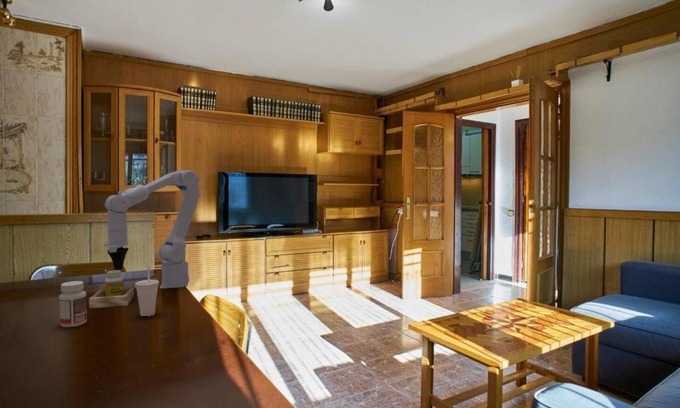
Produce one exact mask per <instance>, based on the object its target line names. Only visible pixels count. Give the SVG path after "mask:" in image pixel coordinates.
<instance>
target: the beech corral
mask: <svg viewBox="0 0 680 408" xmlns="http://www.w3.org/2000/svg"><path fill="white" fill-rule="evenodd" d="M134 297H135V287H130V288H129V289H128V290H127V291H125V292H124V295H123V296H108V297H105V296H104V289H98V290H97V291H96V292H95V293H94V294H93V295H92V296H90V297H88V307H89V309H100V308H101V309H102V308H110V307H111V308H112V307H125V306H129V304H130V302H132V300H133V299H134Z"/></svg>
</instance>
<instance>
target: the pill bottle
mask: <svg viewBox="0 0 680 408" xmlns="http://www.w3.org/2000/svg"><path fill="white" fill-rule="evenodd" d="M84 283H85V282H84V281H81V280H74V281H71V280H70V281H66V282H63V283H61V284H60V292H62V293H61V294H60V295H59V296H58V300H59V325H60V326H61V327H62V328H74V327H78V326H79V327H80V326H82V325H83V324H85V323H87V322H88V310H87V308H88V307H87V305H88V304H87V292H86V290H83V289H84V288H85V285H84Z"/></svg>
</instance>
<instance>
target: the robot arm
mask: <svg viewBox="0 0 680 408" xmlns="http://www.w3.org/2000/svg"><path fill="white" fill-rule="evenodd" d="M199 183H200V178H199V176H198V174H197V173H196V172H195V171H194V170H191V169H186V170H182V169H181V170H178V169H177V170H176V171H173V172H169V173H167V174H165V175H162V176H161V177H159V178H157V179H155V180H152V181H151V182H149V183H147V184H145V185H143V184H140V183H139V184H132V185H131V187H130V188H128V189H125V190H123V191H122V190H120V191H117V194H113V195H109V196H108V197H107V198H106V200H105V202H104V207H105V209H106V210H107V240H108V241H107V242H106V243H103V244H104V246H105V247H108V250H107V254H108V255H109V257H110V258H111V261H112V266H113V268H114V270H120V271H122V270H123V269H124V264H125V258H126V256H127V253H128V251H129V247H126V246H128V245H129V241H128V214H127V211H128V209H129V208H130V207H133V206H135V205H137V204H138V203H142V202H143V201H145V200H147V199H148V198H149V196H150V194H152V193H154V192H156V191H158V190H161V189H163V188H165V187H167V186H170V185H172V186H173V185H174V186H176V187H177V188H178V189H179V190H180V192H181V194H182V195H183V199H182V201H181V204H180V207H179V210H178V211H177V215H176V218H175V220H174V223H173V226H172V229H171V232H170V234H169V236H168V237H167V238H166V239H165V240H164V243H163V244H162V245H160V248H159V249H158V255H159V257H160V258H161V259H162V260H161V284H160V286H159V289H174V288H176V289H177V288H187V287H188V285H189V282H190V275H189V273H190V272H189V268H190V267H189V262H188V261H184V259H185V256H186V247H187V243H186V239H185V238H186V236H187V233H188V230H189V228H190V225H191V223H192V219H193V217H194V214H195V211H196V208H197V205H198V202H199V199H200V196H201V195H200V194H201V193H200V185H199ZM184 286H185V287H184Z"/></svg>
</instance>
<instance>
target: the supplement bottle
mask: <svg viewBox="0 0 680 408" xmlns="http://www.w3.org/2000/svg"><path fill="white" fill-rule="evenodd" d="M124 280H125V279H124V277H123V276H122V270H115V269H114V270H113V269H112V270H108V271H106V278H105V279H104V291H105V293H104V295H105V296H104V297H108V296H123V295H124V294H125V289H124V284H125V283H124V282H125V281H124Z"/></svg>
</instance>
